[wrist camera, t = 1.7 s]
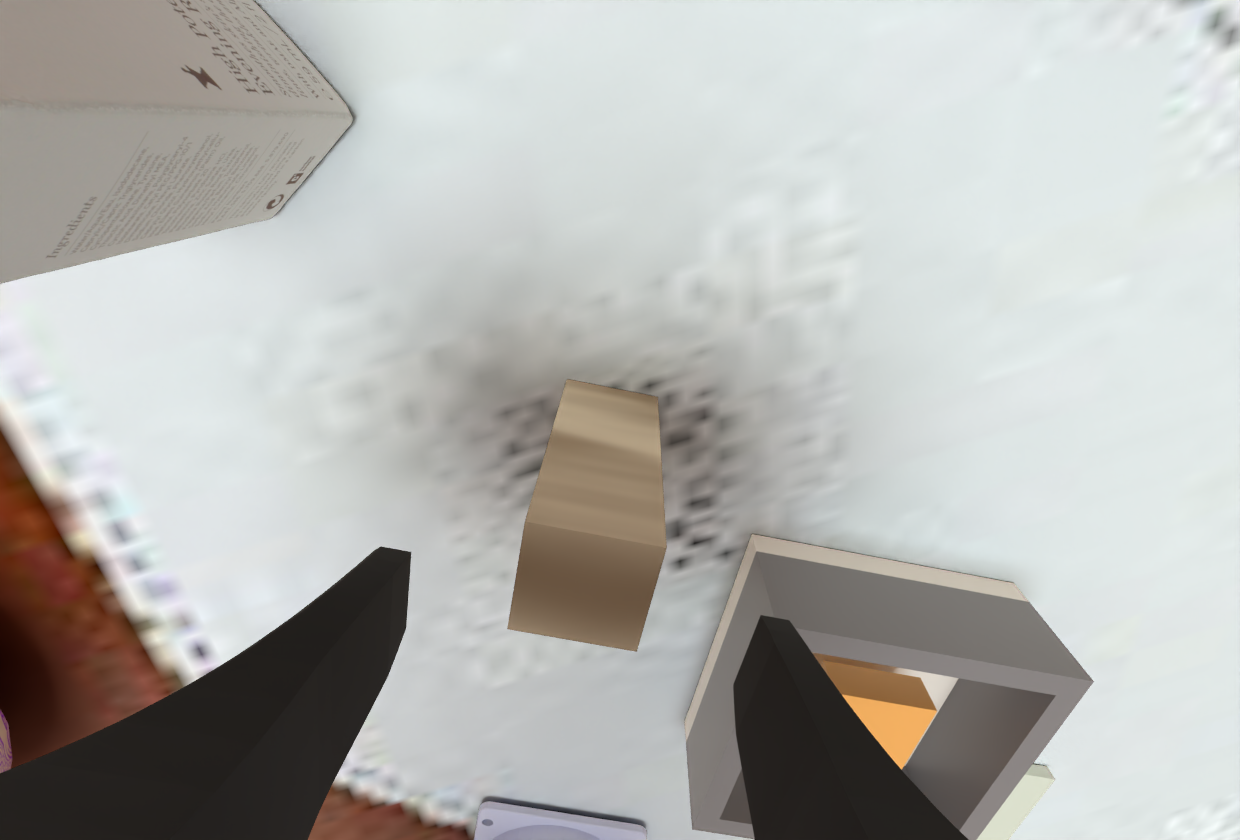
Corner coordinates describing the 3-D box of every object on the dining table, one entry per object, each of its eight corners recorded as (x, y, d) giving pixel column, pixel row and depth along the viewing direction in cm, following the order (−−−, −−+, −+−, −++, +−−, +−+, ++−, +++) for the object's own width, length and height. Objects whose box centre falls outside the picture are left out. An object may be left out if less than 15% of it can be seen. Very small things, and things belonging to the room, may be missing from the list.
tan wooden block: (638, 474, 22) (636, 651, 14) (552, 458, 21) (507, 629, 14) (657, 396, 20) (666, 548, 13) (567, 379, 20) (525, 521, 13)
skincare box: (365, 114, 17) (-141, 94, 6) (270, 227, 18) (-279, 380, 7) (163, -96, 15) (-1094, -678, 4) (75, 47, 16) (-1042, -104, 6)
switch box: (906, 759, 27) (953, 870, 23) (684, 721, 27) (692, 829, 23) (1013, 583, 23) (1093, 681, 19) (751, 533, 22) (776, 624, 18)
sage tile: (967, 871, 31) (973, 885, 30) (810, 846, 30) (813, 860, 30) (1047, 766, 27) (1055, 779, 27) (871, 736, 27) (876, 749, 26)
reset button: (882, 744, 24) (895, 779, 22) (791, 729, 24) (799, 763, 22) (920, 677, 22) (937, 710, 21) (823, 660, 22) (834, 693, 21)
